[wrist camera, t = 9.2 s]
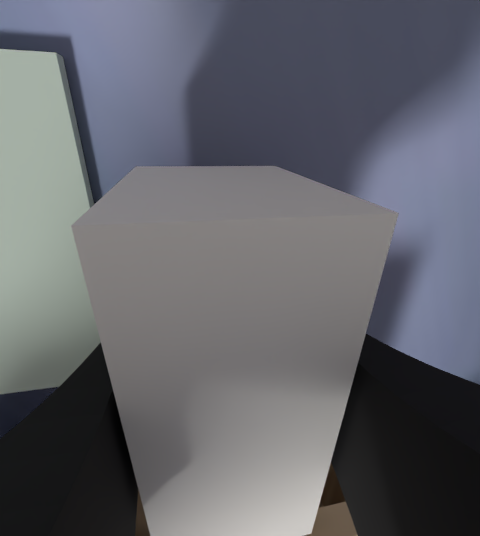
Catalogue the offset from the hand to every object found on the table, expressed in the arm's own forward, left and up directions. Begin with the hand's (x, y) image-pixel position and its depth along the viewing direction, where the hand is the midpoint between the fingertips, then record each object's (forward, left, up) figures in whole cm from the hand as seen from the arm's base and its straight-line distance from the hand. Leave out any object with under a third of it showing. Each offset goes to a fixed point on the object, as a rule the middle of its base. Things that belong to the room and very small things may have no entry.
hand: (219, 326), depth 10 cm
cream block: (0, 0, -2) cm, 2 cm away
